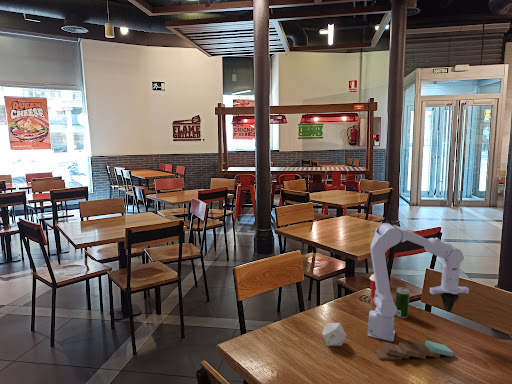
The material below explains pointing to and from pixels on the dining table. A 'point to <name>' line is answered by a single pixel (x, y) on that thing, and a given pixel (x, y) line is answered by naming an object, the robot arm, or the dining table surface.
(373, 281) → the paper cup
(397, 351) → the domino
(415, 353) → the domino
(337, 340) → the die
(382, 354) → the domino
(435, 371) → the dining table surface
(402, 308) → the beer can
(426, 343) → the domino
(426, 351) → the domino
